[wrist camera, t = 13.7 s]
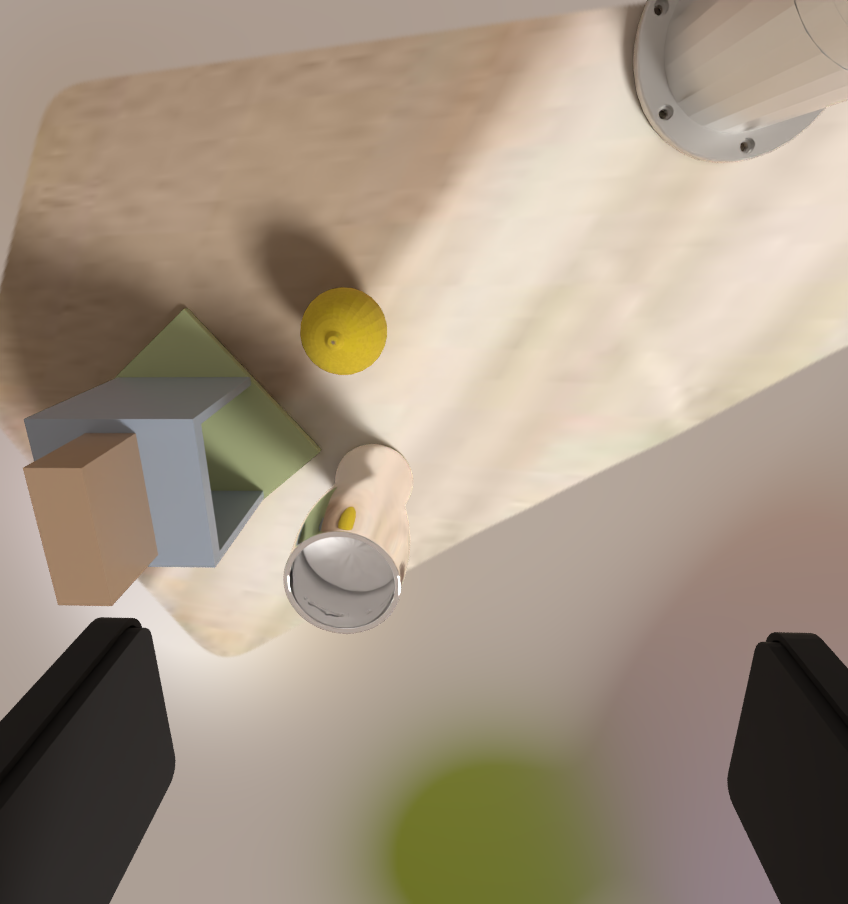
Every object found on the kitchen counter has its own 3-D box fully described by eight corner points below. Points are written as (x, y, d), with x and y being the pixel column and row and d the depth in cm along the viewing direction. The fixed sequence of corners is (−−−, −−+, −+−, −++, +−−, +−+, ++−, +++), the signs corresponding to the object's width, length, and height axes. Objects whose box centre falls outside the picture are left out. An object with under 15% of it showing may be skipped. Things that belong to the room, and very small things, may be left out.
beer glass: (372, 419, 46) (337, 503, 32) (437, 480, 48) (430, 586, 34) (312, 478, 48) (253, 582, 34) (376, 535, 50) (345, 658, 35)
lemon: (300, 330, 44) (269, 351, 37) (343, 266, 42) (319, 274, 35) (363, 375, 45) (346, 405, 38) (407, 314, 43) (398, 332, 36)
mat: (187, 308, 44) (183, 309, 43) (321, 449, 47) (319, 452, 47) (68, 426, 47) (63, 428, 47) (200, 550, 51) (197, 554, 50)
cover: (250, 376, 45) (147, 452, 30) (264, 497, 48) (177, 620, 33) (117, 377, 45) (-50, 451, 30) (139, 497, 49) (-1, 617, 34)
